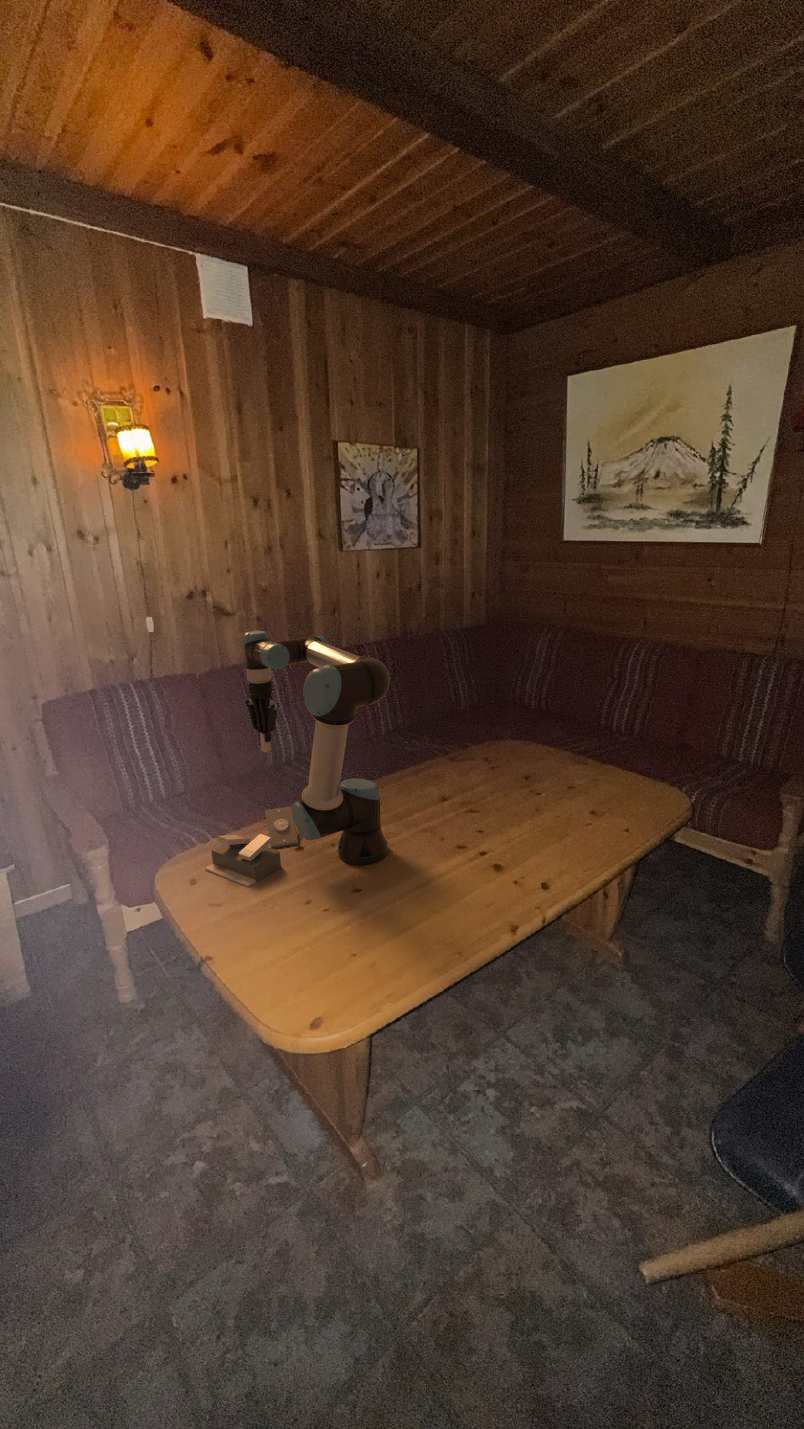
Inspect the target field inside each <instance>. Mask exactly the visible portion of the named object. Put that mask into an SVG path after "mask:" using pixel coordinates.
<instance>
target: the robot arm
mask: <svg viewBox="0 0 804 1429" xmlns="http://www.w3.org/2000/svg"><path fill="white" fill-rule="evenodd" d="M243 647H244V648H243V649H244V658H245V665H246V668H245V669H246V680H247V681H248V682H247V689H248V693H249V694H250V696H249V699H247V700H245V701H244V703H245V705H246V706H247V710H248V713H249V716H250V719H251V720H250V721H251V724H252V728H253V730H256V731H257V732H258V738H259V741H260V750H261V753H267V752H269V751H271V750H272V748H271V740H272V738H271V737H272V735H271V732H273V731H275V730H276V725H277V724H276V723H277V714H278V709H279V707H280V704H279V703H278V702H274V698H273V696H272V692H273V691H274V688H273V687H274V686H273V681H272V678H273V677H272V670H280V669H284V668H285V667H286V666H290V665H297V664H301V663H308V664H311V665H313V666H315V667H316V668H315V669H313V670H311V671H309V673H308V674H307V676H306V677H305V680H304V684H303V692H302V693H303V695H302V696H303V697H304V700H303V701H304V705H305V707H306V709H307V711H308V712H309V714H311V717H312V718H313V719H314V720H315V724H314V732H313V740H312V750H311V758H310V767H309V776H308V783H307V784H308V785H307V786H305V787H304V788H303V790H302V792H301V799H300V800H299V801H298V800H297V801H296V802H294V803H293V804H292V805H291V808H292V815H293V819H294V823H295V828H296V830H297V831H298V833H299V834H300V836H302V838H303V839H305V840H306V841H314V840H321V839H322V838H324V837H328V836H330V835H333V834H336V833H340V832H341V835H340V839H339V842H338V846H337V855H338V858H339V860H341V861H342V862H344V863H346V864H350V865H355V866H363V865H364V866H366V865H372V864H375V863H377V862H381V861H382V860H384V859H385V858H386V856H387V854H388V852H389V851H388V850H389V849H388V843H387V842H388V841H387V840H386V839H385V835H384V833H383V830H382V822H381V821H382V820H381V818H382V816H381V800H382V799H381V793H380V792H381V791H380V787H379V786H378V784H377V783H375V781H372V780H369V779H364V778H347V779H344V780H342V781H341V778H342V774H343V773H342V772H343V771H342V770H343V764H344V758H345V752H346V751H345V750H346V746H347V745H346V744H347V737H348V731H349V725H350V724H352V723H353V722H354V721H355V719H356V718H357V716H356V715H357V710H358V708H361V707H367V706H370V705H373V704H376V703H378V702H379V701H380V700H382V699H383V698H384V697H385V696H386V695H387V693H388V691H389V688H390V685H391V683H390V682H391V677H390V676H391V675H390V672H389V669H388V668H387V667H386V665H385V664H384V663H383V662H382V661H380V660H378V659H376V658H375V657H372V656H368V655H362V656H359V655H356V654H354V653H351V652H349V651H345V650H344V649H342V648H341V649H340V648H339V647H336V646H333V645H331V644H329V642H328V640H327V639H326V637H325V636H322V635H311V636H307V637H300V638H292V639H285V640H284V639H283V640H277V641H276V640H275V641H270V638H269V634H268V632H267V631H263V630H252V631H251V630H250V631H248V632H247V631H246V632H245V633H244V635H243Z"/></svg>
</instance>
